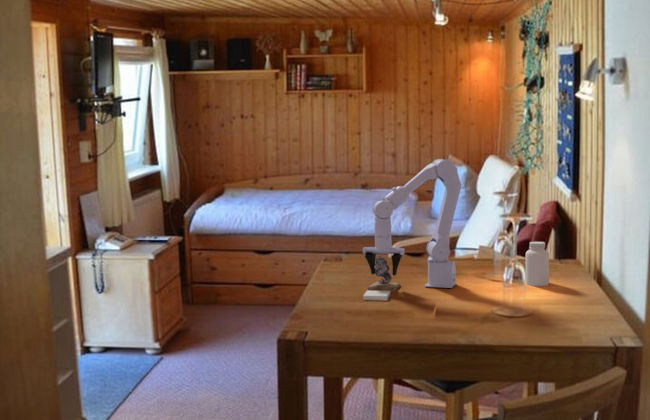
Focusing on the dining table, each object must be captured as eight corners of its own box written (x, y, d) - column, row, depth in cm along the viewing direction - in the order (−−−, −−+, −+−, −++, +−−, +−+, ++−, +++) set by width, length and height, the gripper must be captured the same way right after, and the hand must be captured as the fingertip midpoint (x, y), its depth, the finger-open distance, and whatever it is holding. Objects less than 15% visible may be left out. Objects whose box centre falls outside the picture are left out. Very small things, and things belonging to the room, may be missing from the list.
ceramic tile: (390, 295, 269) (390, 290, 269) (387, 300, 261) (387, 296, 261) (367, 294, 270) (367, 290, 270) (363, 300, 263) (363, 295, 262)
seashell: (385, 285, 272) (381, 256, 272) (374, 286, 276) (369, 257, 276) (395, 282, 276) (391, 254, 276) (384, 283, 280) (379, 255, 280)
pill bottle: (546, 282, 281) (546, 240, 280) (550, 287, 274) (551, 244, 272) (523, 282, 282) (523, 240, 281) (527, 287, 274) (527, 244, 273)
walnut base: (400, 288, 279) (400, 282, 278) (392, 294, 270) (392, 287, 270) (376, 287, 282) (376, 281, 282) (367, 292, 274) (367, 286, 274)
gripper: (406, 234, 275) (407, 273, 276) (367, 233, 280) (367, 271, 282) (400, 237, 268) (401, 277, 270) (360, 236, 274) (361, 275, 275)
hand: (383, 274), depth 276 cm, fingers open, 7 cm apart
